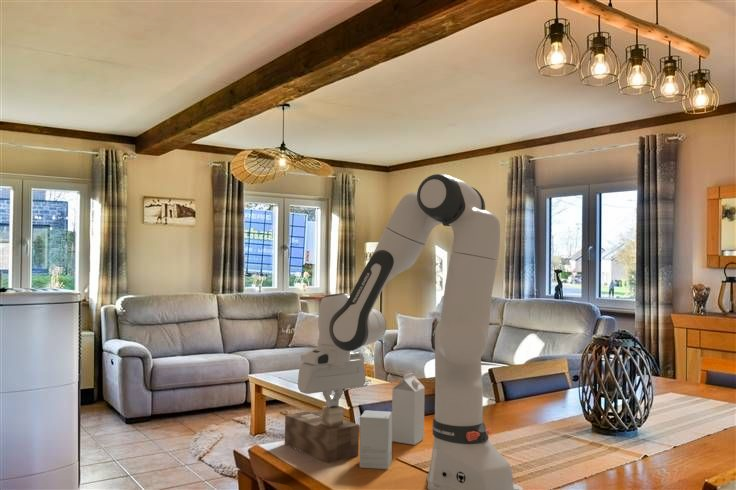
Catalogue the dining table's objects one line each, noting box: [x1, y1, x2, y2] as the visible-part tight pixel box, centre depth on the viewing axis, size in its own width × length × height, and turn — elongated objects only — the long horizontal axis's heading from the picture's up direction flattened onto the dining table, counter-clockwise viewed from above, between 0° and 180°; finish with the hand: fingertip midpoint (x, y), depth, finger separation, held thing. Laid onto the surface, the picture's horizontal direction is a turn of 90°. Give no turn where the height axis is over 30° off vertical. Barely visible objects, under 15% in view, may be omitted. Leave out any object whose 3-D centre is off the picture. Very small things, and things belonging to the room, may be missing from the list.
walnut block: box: [284, 409, 360, 464], centre depth 165 cm, size 20×10×8 cm, turn 40°
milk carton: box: [391, 372, 426, 446], centre depth 176 cm, size 7×7×19 cm
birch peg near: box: [321, 405, 344, 427], centre depth 162 cm, size 4×4×7 cm
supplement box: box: [359, 409, 393, 470], centre depth 154 cm, size 7×7×13 cm
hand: (332, 406), depth 162 cm, fingers closed, pressing on birch peg near
